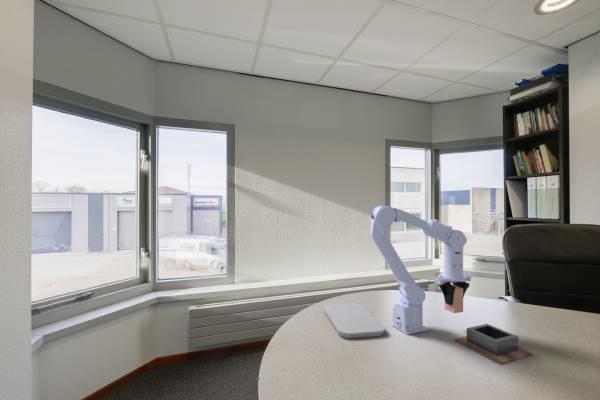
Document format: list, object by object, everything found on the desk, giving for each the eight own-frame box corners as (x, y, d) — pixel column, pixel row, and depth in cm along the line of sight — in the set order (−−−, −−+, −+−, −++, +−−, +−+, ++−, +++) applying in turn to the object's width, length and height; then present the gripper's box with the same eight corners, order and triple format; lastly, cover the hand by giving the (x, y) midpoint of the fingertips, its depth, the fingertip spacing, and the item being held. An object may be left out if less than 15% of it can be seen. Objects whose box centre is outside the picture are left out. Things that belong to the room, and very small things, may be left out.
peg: (454, 313, 93) (454, 289, 93) (444, 309, 97) (444, 286, 97) (463, 311, 94) (463, 288, 94) (452, 307, 98) (452, 285, 98)
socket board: (500, 364, 74) (499, 347, 74) (454, 340, 87) (454, 326, 87) (533, 354, 79) (532, 338, 79) (485, 333, 92) (484, 319, 92)
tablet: (359, 308, 116) (359, 302, 116) (388, 337, 90) (388, 330, 90) (321, 310, 113) (321, 304, 113) (340, 341, 87) (340, 333, 87)
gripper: (447, 267, 89) (448, 310, 89) (479, 264, 95) (479, 304, 94) (430, 263, 96) (430, 302, 96) (460, 260, 101) (460, 298, 101)
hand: (453, 303), depth 95 cm, fingers closed on peg, 4 cm apart
